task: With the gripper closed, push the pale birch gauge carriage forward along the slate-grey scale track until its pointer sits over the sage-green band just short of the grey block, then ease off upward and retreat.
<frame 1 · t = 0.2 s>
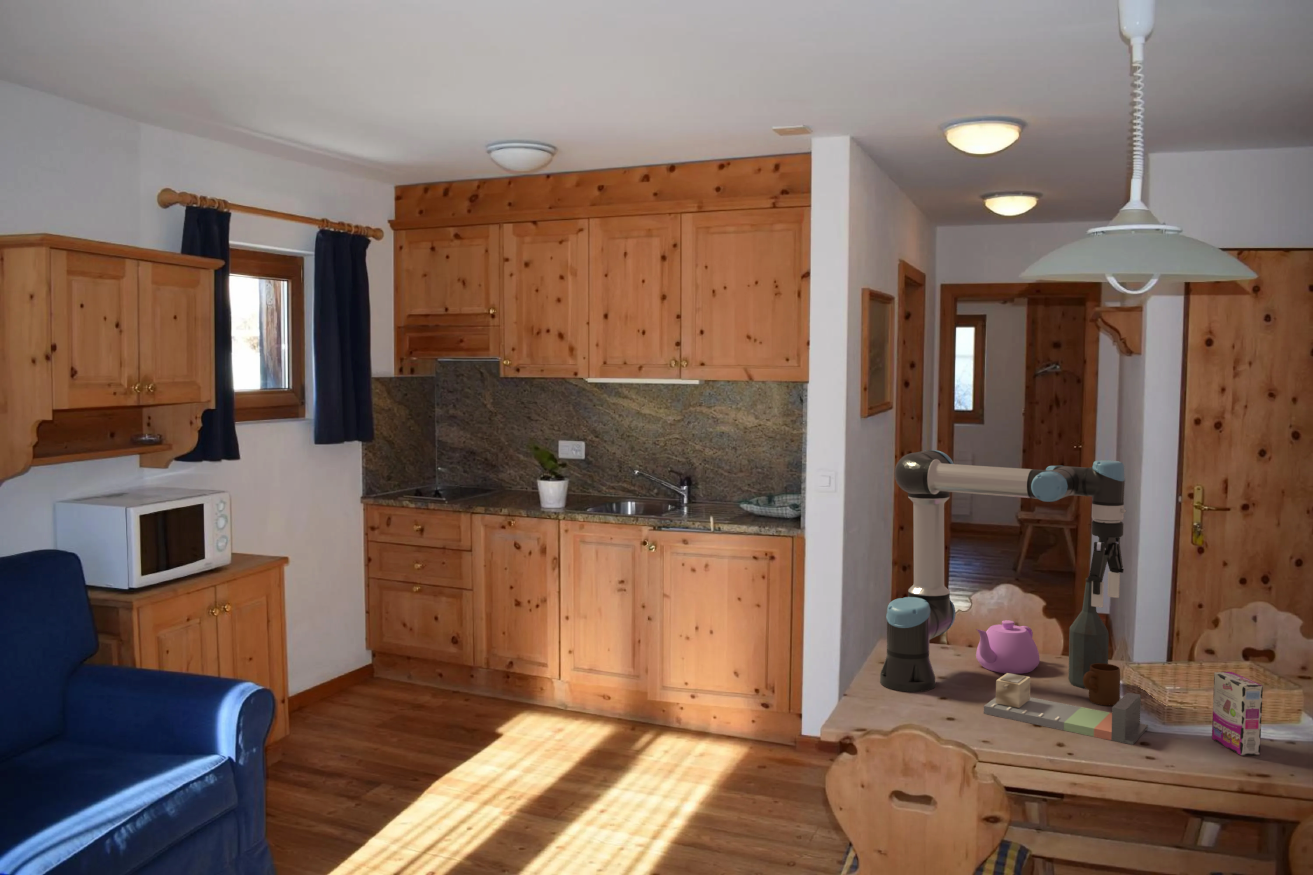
hand: (1105, 601, 266), 28 cm above the table, fingers open, 13 cm apart
teapot: (1004, 667, 303), on the table
grey block: (1125, 733, 248), on the table
bottle: (1087, 684, 286), on the table
mug: (1098, 703, 270), on the table
candy bar box: (1235, 747, 239), on the table
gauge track: (1060, 719, 258), on the table
gauge carriage: (1011, 690, 264), point 5 cm above the table, slide at 0.0 cm
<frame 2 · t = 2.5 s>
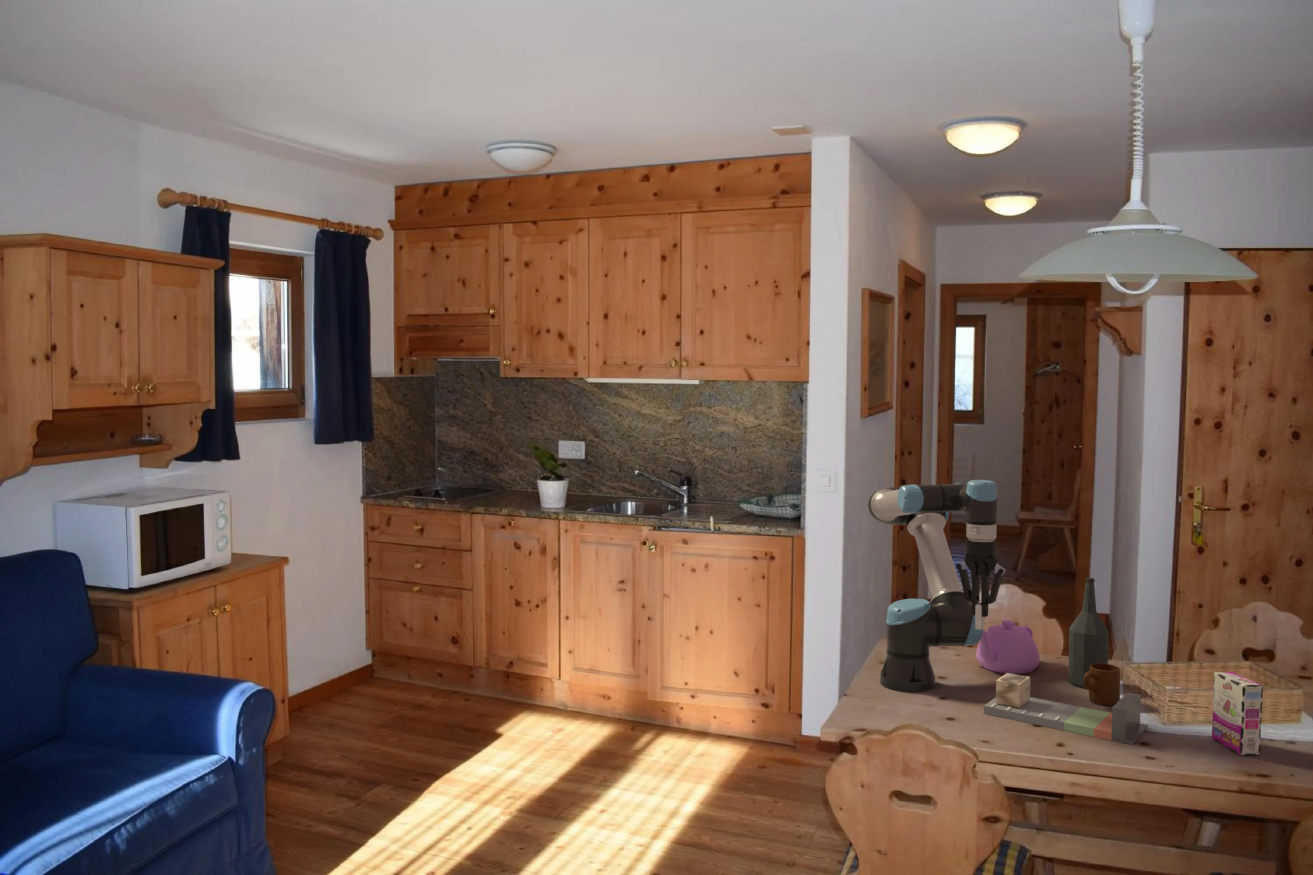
hand: (979, 628, 270), 20 cm above the table, fingers closed
nothing on the table moved.
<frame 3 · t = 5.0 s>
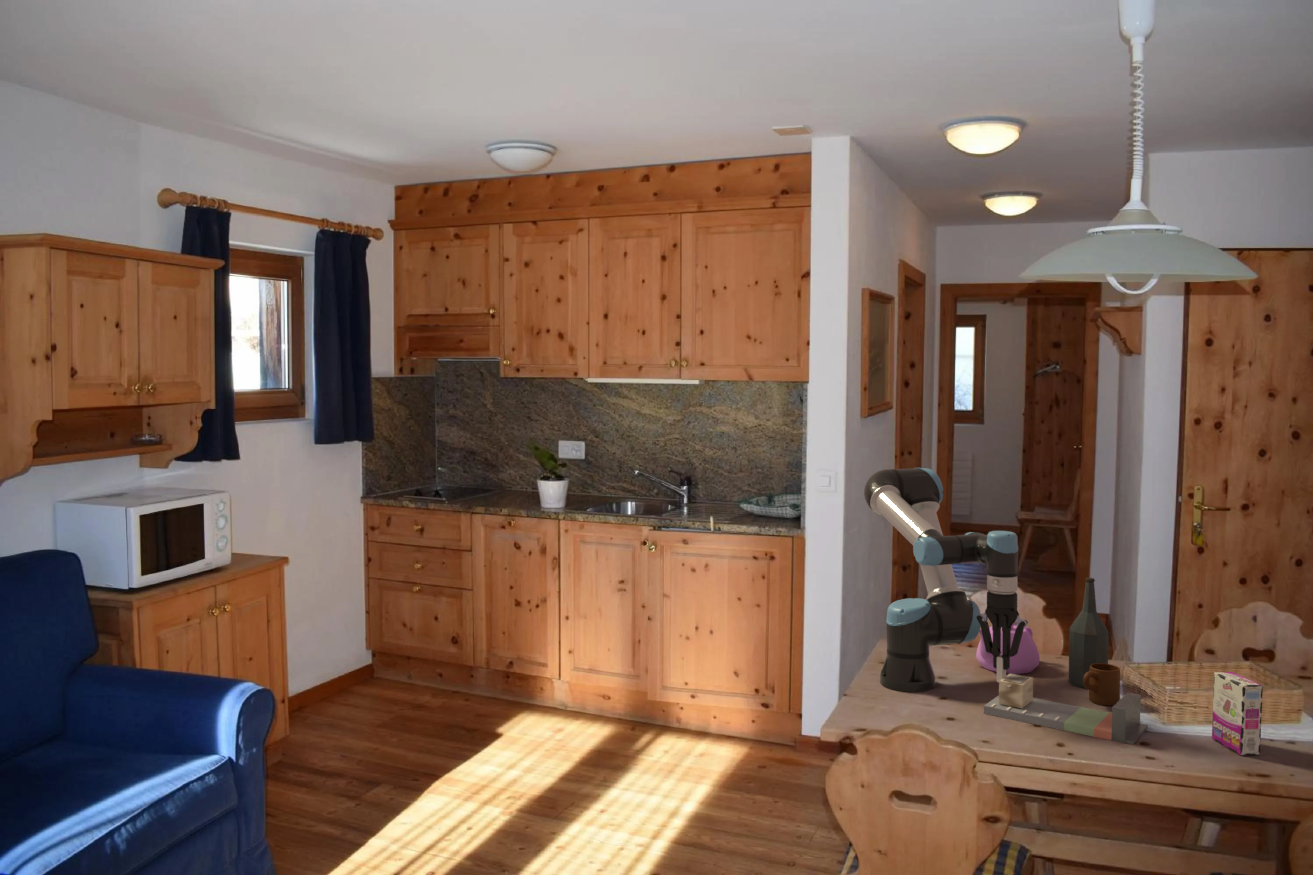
hand: (1001, 680, 267), 7 cm above the table, fingers closed
gauge carriage: (1014, 691, 264), point 5 cm above the table, slide at 0.8 cm, touching gripper
everything else where it was.
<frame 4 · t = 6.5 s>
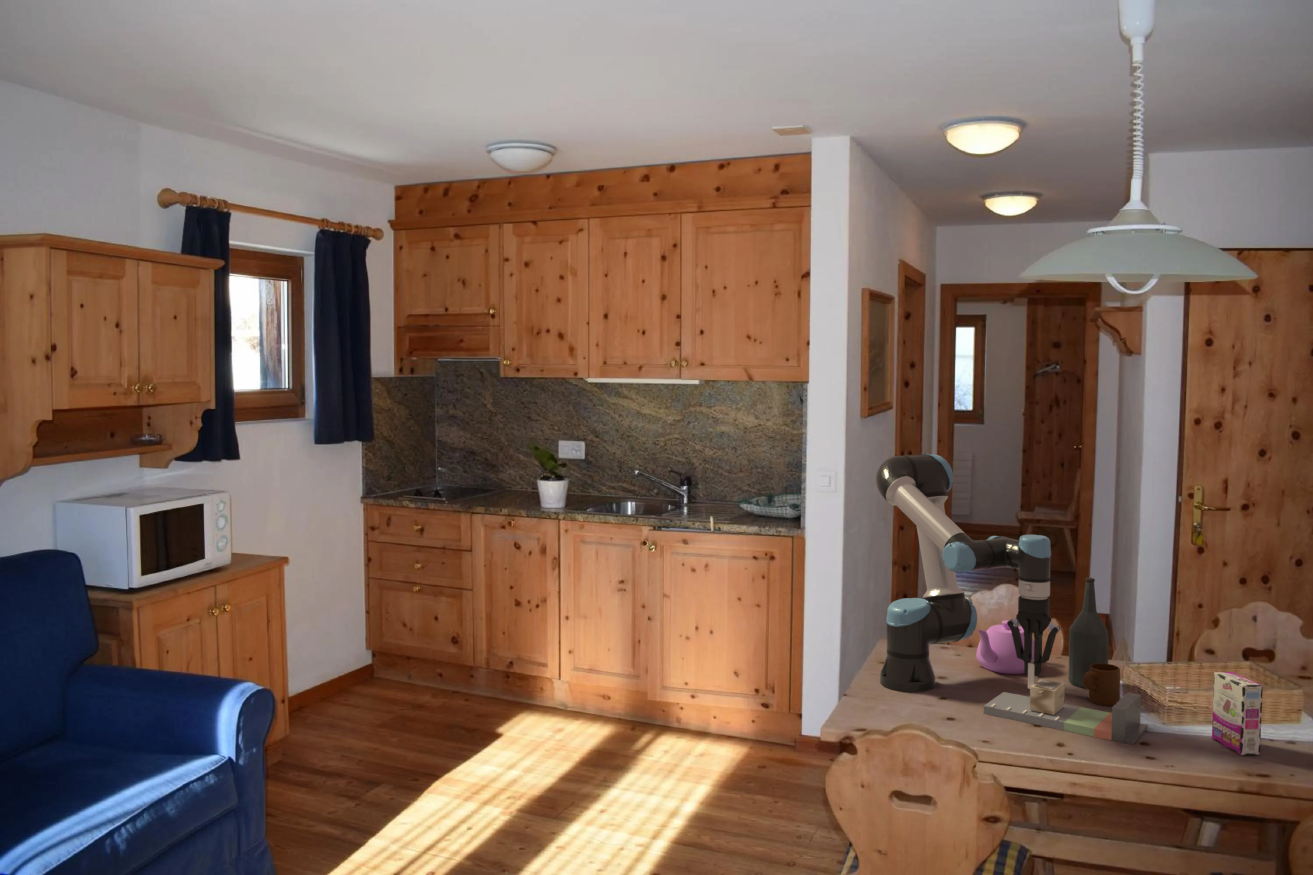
hand: (1032, 687, 262), 7 cm above the table, fingers closed
gauge carriage: (1046, 697, 259), point 5 cm above the table, slide at 8.7 cm, touching gripper
everything else where it was.
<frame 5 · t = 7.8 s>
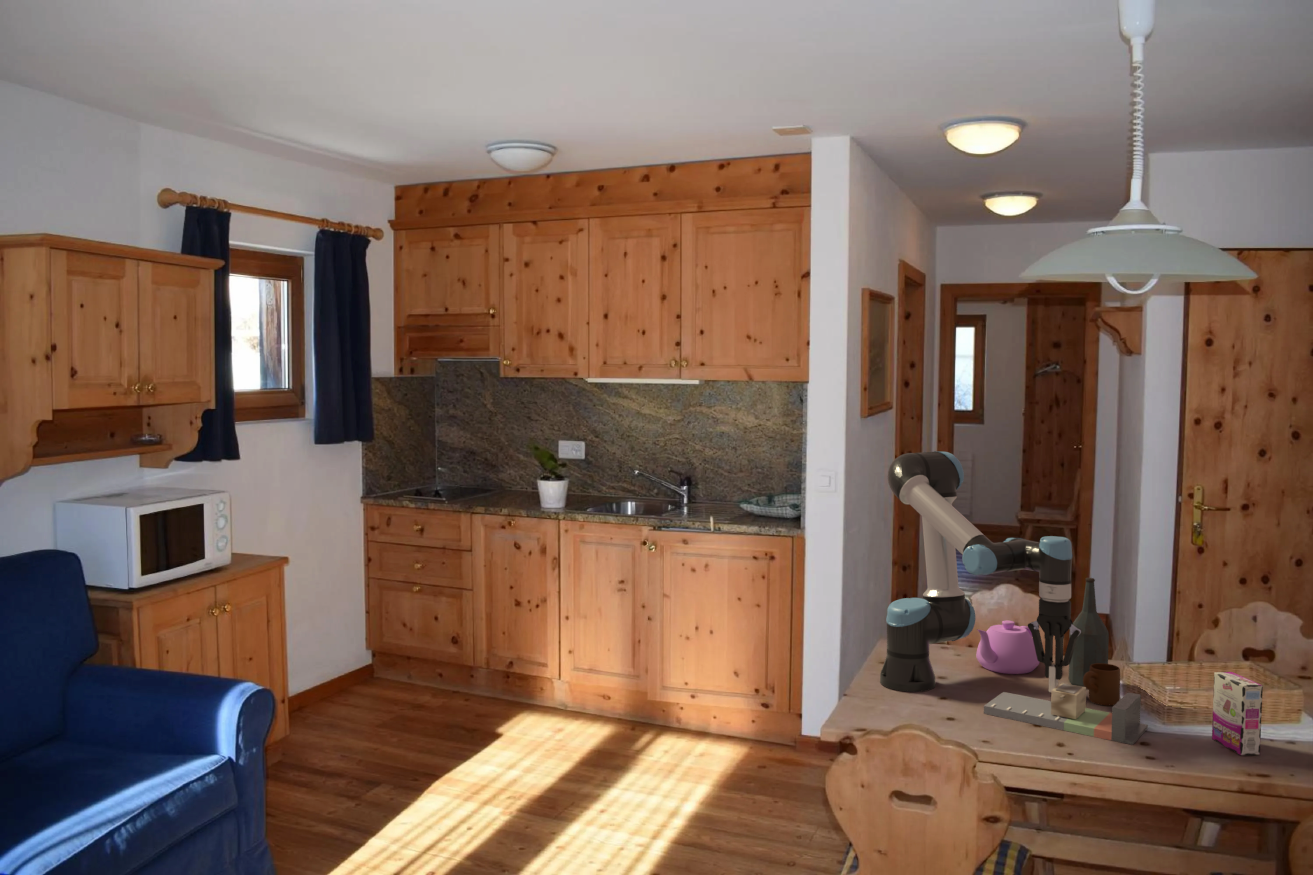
hand: (1053, 690, 259), 7 cm above the table, fingers closed
gauge carriage: (1067, 701, 256), point 5 cm above the table, slide at 13.9 cm, touching gripper
everything else where it was.
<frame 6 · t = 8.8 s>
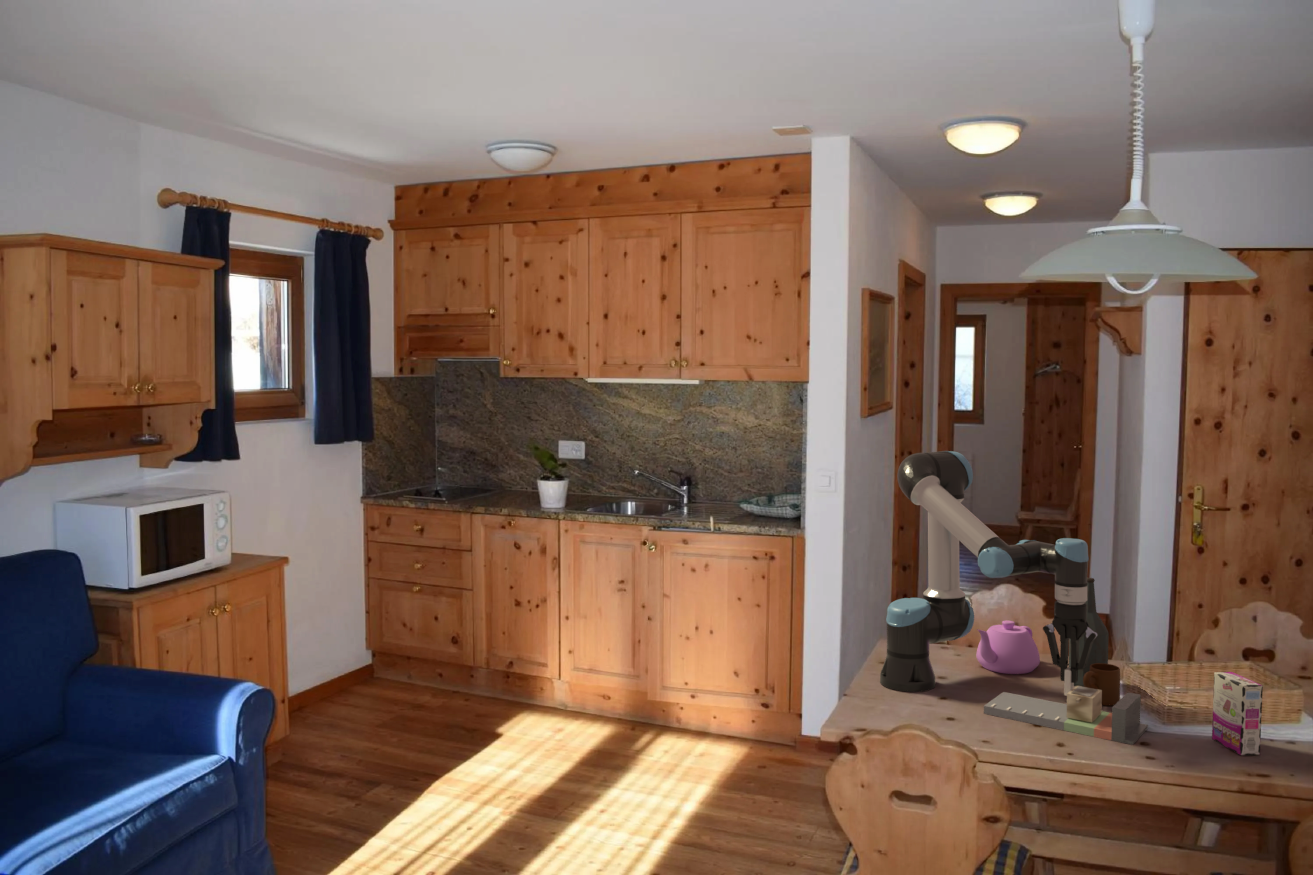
hand: (1068, 694, 256), 7 cm above the table, fingers closed
gauge carriage: (1083, 704, 253), point 5 cm above the table, slide at 17.7 cm, touching gripper
everything else where it was.
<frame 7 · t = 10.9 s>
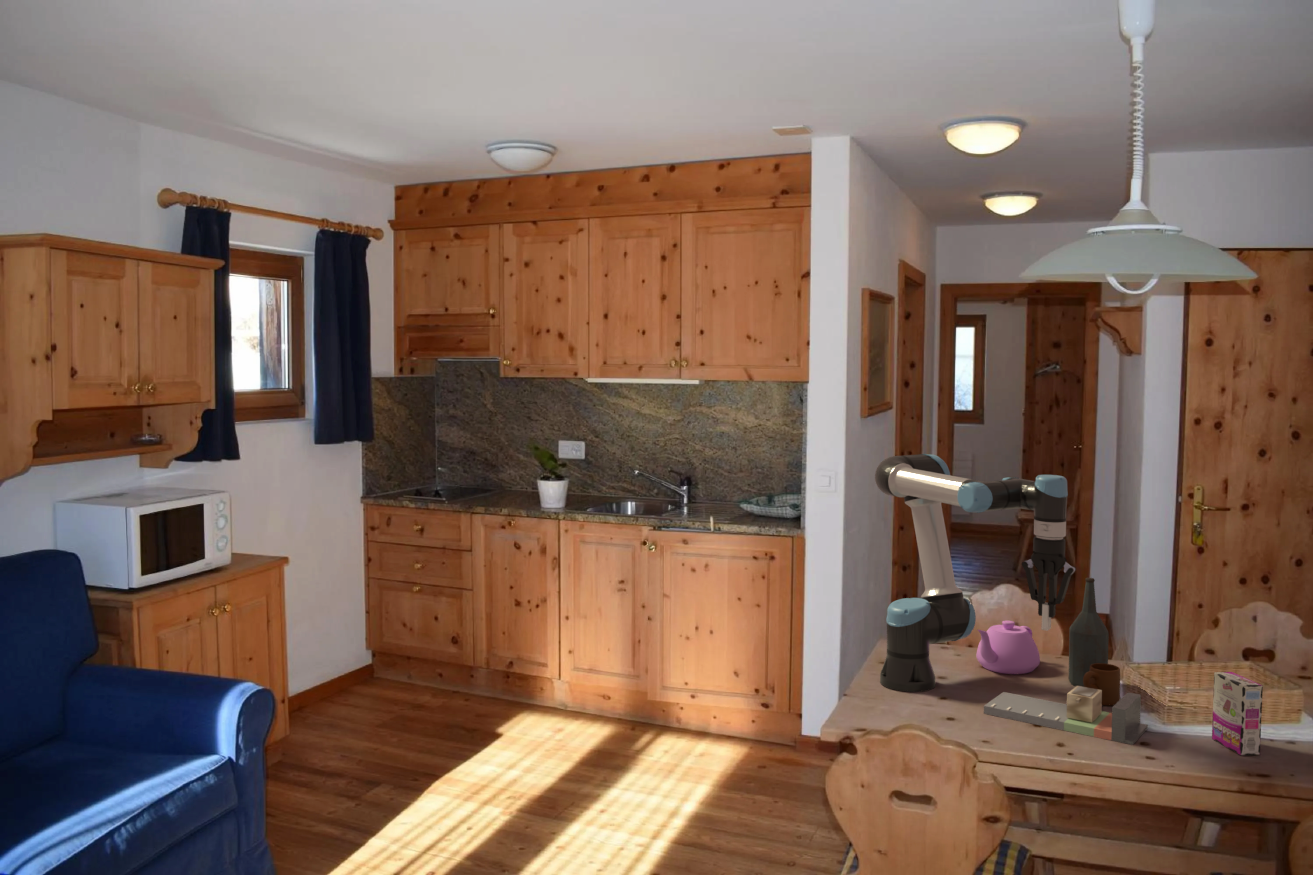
hand: (1046, 628, 259), 23 cm above the table, fingers closed
gauge carriage: (1083, 704, 253), point 5 cm above the table, slide at 17.7 cm
everything else where it was.
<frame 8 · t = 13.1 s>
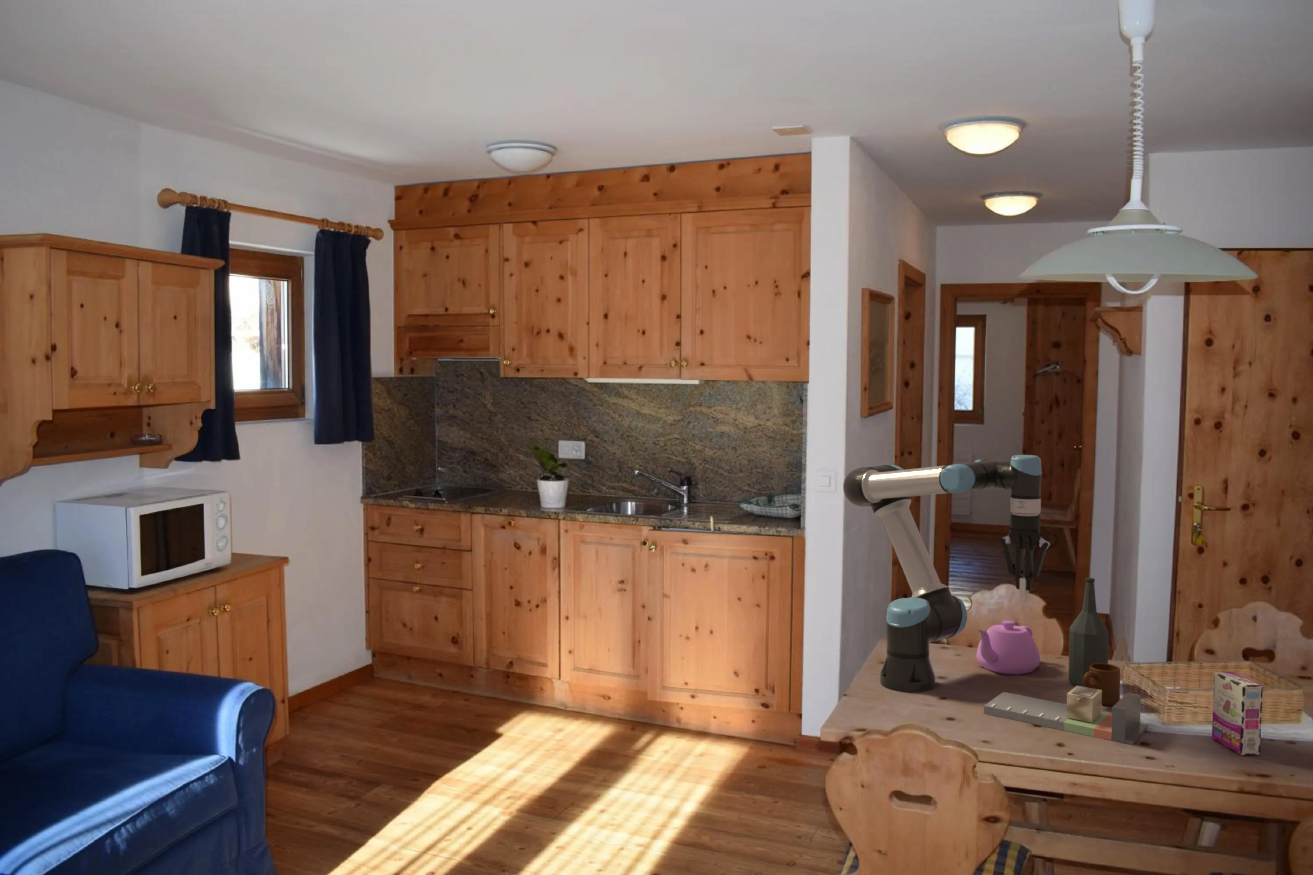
hand: (1023, 601, 272), 26 cm above the table, fingers closed
nothing on the table moved.
at the end: gauge carriage slide at 17.7 cm; gauge carriage touching nothing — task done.
